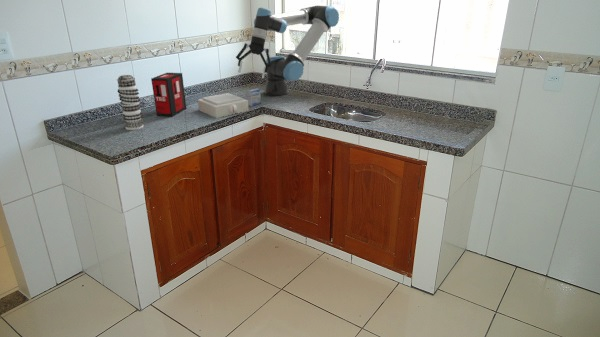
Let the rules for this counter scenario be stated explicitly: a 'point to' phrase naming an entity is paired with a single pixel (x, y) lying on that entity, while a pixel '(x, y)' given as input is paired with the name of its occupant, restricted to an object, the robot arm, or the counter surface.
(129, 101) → the striped tower model
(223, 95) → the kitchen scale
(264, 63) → the robot arm
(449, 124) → the counter surface
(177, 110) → the cleaning product box
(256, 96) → the medicine box
